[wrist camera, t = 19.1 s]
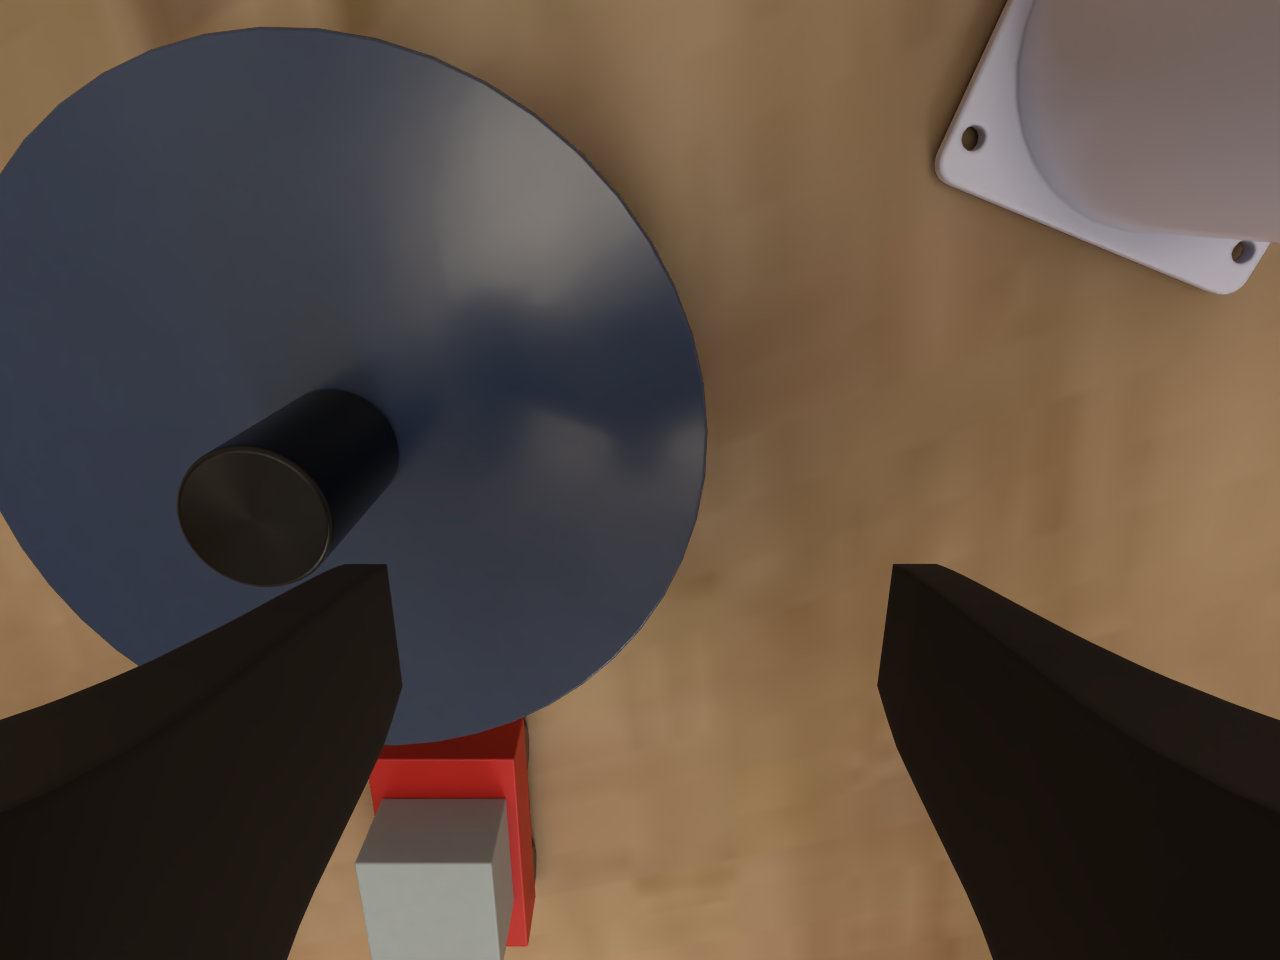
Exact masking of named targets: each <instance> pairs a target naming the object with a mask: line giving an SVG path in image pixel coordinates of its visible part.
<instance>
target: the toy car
mask: <svg viewBox="0 0 1280 960" xmlns="http://www.w3.org/2000/svg"><path fill="white" fill-rule="evenodd" d="M528 757H529V736H528V730H527V727H526V726H524V718H523V717H522V718H520V719H518V720H516V721H514V722H511V723H508V724H505V725H501V726H498V727H495V728H492V729H489V730H486V731H483V732H480V733H477V734H472V735H468V736H463V737H458V738H453V739H448V740H443V741H438V742H428V743H417V744H406V745H384V747H383V749H382V751H381V753H380V756H379V758H378V760H377V762H376V764H375V766H374V768H373V771H372V773H371V775H370V777H369V782H370V788H371V794H372V801H373V807H374V813H375V817H374V820H373V822H372V825H371V827H370V829H369V832H368V834H367V836H366V839H365V841H364V843H363V846H362V848H361V850H360V853H359V855H358V858H357V860H356V862H355V867H356V873H357V879H358V884H359V890H360V896H361V902H362V907H363V913H364V919H365V925H366V930H367V936H368V942H369V947H370V953H371V959H372V960H503V959H504V954H505V948H506V946H528V942H529V935H530V929H531V922H532V915H533V909H534V902H535V878H536V850H535V846H534V845H532V836H531V821H530V806H529V791H528V775H527V768H528Z"/></svg>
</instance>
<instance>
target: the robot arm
mask: <svg viewBox="0 0 1280 960" xmlns="http://www.w3.org/2000/svg"><path fill="white" fill-rule="evenodd" d="M968 127H973V128H974V129H975V130H977V133H978V142H977V144H976V146H975V147H974V148H973V149H972V150H970V151H968V150H966V149H965V148H964V147H963V145H962V141H961V139H962V135H963V132H964V131H965V130H966V129H967V128H968ZM934 165H935V173H936V174H937V176H938V178H939V180H941V181H942V182H944V183H945V184H947V185H949V186H952V187H954V188H956V189H959V190H961V191H964V192H966V193H969V194H971V195H973V196H976V197H978V198H981V199H983V200H986V201H988V202H990V203H993V204H995V205H998V206H1000V207H1003V208H1005V209H1007V210H1010V211H1012V212H1015V213H1017V214H1020V215H1022V216H1024V217H1027V218H1029V219H1032V220H1034V221H1037V222H1039V223H1041V224H1044V225H1046V226H1049V227H1051V228H1054V229H1056V230H1058V231H1061V232H1063V233H1066V234H1068V235H1071V236H1073V237H1075V238H1078V239H1080V240H1083V241H1085V242H1088V243H1090V244H1092V245H1095V246H1097V247H1100V248H1102V249H1105V250H1107V251H1109V252H1112V253H1114V254H1117V255H1119V256H1122V257H1124V258H1126V259H1129V260H1131V261H1134V262H1136V263H1139V264H1141V265H1143V266H1146V267H1148V268H1151V269H1153V270H1156V271H1158V272H1160V273H1163V274H1165V275H1168V276H1170V277H1173V278H1175V279H1177V280H1180V281H1182V282H1185V283H1187V284H1190V285H1192V286H1194V287H1197V288H1199V289H1202V290H1204V291H1207V292H1211V293H1217V294H1223V295H1225V294H1229V293H1233V292H1235V291H1236V290H1238V289H1239V288H1241V287H1242V286H1243V284H1244V283H1245V282H1246V281H1247V280H1248V278H1249V276H1250V275H1251V273H1252V272H1253V270H1254V268H1255V267H1256V265H1257V264H1258V262H1259V260H1260V259H1261V257H1262V256H1263V254H1264V253H1265V251H1266V249H1267V248H1268V246H1269V245H1270V243H1280V0H1007V2H1006V5H1005V7H1004V9H1003V11H1002V13H1001V15H1000V18H999V20H998V22H997V24H996V26H995V28H994V31H993V33H992V35H991V37H990V39H989V41H988V44H987V46H986V48H985V50H984V52H983V54H982V57H981V59H980V61H979V63H978V65H977V67H976V70H975V72H974V74H973V76H972V78H971V80H970V83H969V85H968V87H967V89H966V91H965V93H964V96H963V98H962V100H961V102H960V104H959V107H958V109H957V111H956V113H955V115H954V117H953V120H952V122H951V124H950V126H949V128H948V130H947V133H946V135H945V137H944V139H943V141H942V143H941V146H940V148H939V150H938V152H937V155H936V158H935V162H934ZM1238 242H1241V243H1242V247H1243V249H1242V252H1241V255H1240V256H1239V257H1238V258H1237V259H1236V260H1234V261H1233V260H1232V251H1233V248H1234V247H1235V246H1236V245H1237V244H1238ZM402 686H403V684H402V677H401V669H400V661H399V654H398V646H397V638H396V631H395V623H394V615H393V608H392V600H391V592H390V585H389V577H388V569H387V564H343V565H340V566H337V567H335V568H332V569H330V570H328V571H325V572H323V573H321V574H319V575H317V576H315V577H313V578H311V579H309V580H307V581H305V582H303V583H302V584H300V585H298V586H296V587H294V588H292V589H290V590H288V591H286V592H285V593H283V594H281V595H279V596H277V597H275V598H273V599H272V600H270V601H268V602H266V603H264V604H262V605H260V606H259V607H257V608H255V609H253V610H251V611H249V612H247V613H245V614H244V615H242V616H240V617H238V618H236V619H234V620H232V621H231V622H229V623H227V624H225V625H223V626H221V627H219V628H217V629H215V630H213V631H211V632H209V633H207V634H205V635H203V636H200V637H198V638H196V639H194V640H192V641H190V642H188V643H186V644H184V645H182V646H180V647H178V648H176V649H174V650H172V651H170V652H168V653H166V654H164V655H162V656H160V657H158V658H156V659H154V660H152V661H149V662H147V663H145V664H143V665H141V666H138V667H136V668H134V669H132V670H129V671H127V672H125V673H122V674H120V675H118V676H116V677H113V678H111V679H109V680H106V681H104V682H101V683H99V684H96V685H94V686H91V687H89V688H86V689H84V690H81V691H79V692H76V693H74V694H71V695H69V696H66V697H64V698H61V699H59V700H56V701H53V702H51V703H48V704H45V705H43V706H40V707H37V708H34V709H31V710H28V711H25V712H22V713H19V714H16V715H13V716H10V717H7V718H5V719H2V720H0V960H287V958H288V955H289V953H290V950H291V947H292V944H293V942H294V939H295V936H296V933H297V931H298V928H299V925H300V923H301V921H302V919H303V916H304V914H305V912H306V909H307V907H308V905H309V902H310V900H311V898H312V895H313V893H314V891H315V889H316V887H317V885H318V883H319V881H320V879H321V876H322V874H323V872H324V870H325V868H326V866H327V864H328V862H329V860H330V858H331V856H332V854H333V852H334V850H335V848H336V845H337V843H338V841H339V839H340V837H341V835H342V833H343V831H344V829H345V827H346V825H347V823H348V821H349V819H350V817H351V815H352V812H353V810H354V808H355V806H356V804H357V802H358V800H359V798H360V796H361V794H362V792H363V790H364V787H365V785H366V783H367V781H368V779H369V777H370V775H371V773H372V771H373V768H374V766H375V764H376V762H377V760H378V758H379V756H380V753H381V751H382V749H383V747H384V744H385V741H386V738H387V735H388V732H389V729H390V726H391V723H392V720H393V716H394V713H395V710H396V706H397V703H398V700H399V696H400V693H401V690H402ZM877 686H878V690H879V693H880V696H881V700H882V703H883V706H884V710H885V713H886V716H887V720H888V723H889V726H890V729H891V732H892V735H893V738H894V741H895V744H896V747H897V749H898V751H899V753H900V756H901V758H902V760H903V762H904V764H905V766H906V768H907V771H908V773H909V775H910V777H911V779H912V781H913V783H914V785H915V787H916V790H917V792H918V794H919V796H920V798H921V800H922V802H923V804H924V806H925V808H926V810H927V812H928V814H929V817H930V819H931V821H932V823H933V825H934V827H935V829H936V831H937V833H938V835H939V837H940V839H941V841H942V843H943V845H944V848H945V850H946V852H947V854H948V856H949V858H950V860H951V862H952V864H953V866H954V868H955V870H956V872H957V874H958V876H959V879H960V881H961V883H962V885H963V887H964V889H965V891H966V893H967V895H968V898H969V900H970V902H971V905H972V907H973V909H974V912H975V914H976V916H977V919H978V921H979V923H980V925H981V928H982V931H983V933H984V936H985V939H986V942H987V944H988V947H989V950H990V953H991V955H992V958H993V960H1280V720H1278V719H1275V718H1272V717H1269V716H1266V715H1263V714H1260V713H1258V712H1255V711H1252V710H1249V709H1246V708H1244V707H1241V706H1238V705H1235V704H1233V703H1230V702H1227V701H1225V700H1222V699H1220V698H1217V697H1215V696H1212V695H1210V694H1207V693H1205V692H1202V691H1200V690H1197V689H1195V688H1192V687H1190V686H1187V685H1185V684H1182V683H1180V682H1177V681H1175V680H1172V679H1170V678H1167V677H1165V676H1163V675H1161V674H1158V673H1156V672H1154V671H1151V670H1149V669H1147V668H1144V667H1142V666H1140V665H1138V664H1136V663H1133V662H1131V661H1129V660H1127V659H1125V658H1123V657H1121V656H1119V655H1117V654H1114V653H1112V652H1110V651H1108V650H1106V649H1104V648H1102V647H1100V646H1098V645H1095V644H1093V643H1091V642H1089V641H1087V640H1085V639H1083V638H1081V637H1079V636H1077V635H1075V634H1073V633H1071V632H1069V631H1067V630H1065V629H1064V628H1062V627H1060V626H1058V625H1056V624H1054V623H1052V622H1050V621H1048V620H1046V619H1044V618H1043V617H1041V616H1039V615H1037V614H1035V613H1033V612H1031V611H1029V610H1027V609H1026V608H1024V607H1022V606H1020V605H1018V604H1016V603H1014V602H1013V601H1011V600H1009V599H1007V598H1005V597H1003V596H1001V595H1000V594H998V593H996V592H994V591H992V590H990V589H988V588H987V587H985V586H983V585H981V584H979V583H977V582H975V581H973V580H971V579H969V578H967V577H965V576H963V575H961V574H959V573H957V572H955V571H953V570H950V569H948V568H946V567H943V566H940V565H938V564H893V569H892V577H891V585H890V592H889V600H888V608H887V615H886V623H885V631H884V638H883V646H882V654H881V661H880V669H879V677H878V684H877Z"/></svg>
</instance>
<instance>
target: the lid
mask: <svg viewBox="0 0 1280 960" xmlns="http://www.w3.org/2000/svg"><path fill="white" fill-rule="evenodd" d="M706 449H707V419H706V407H705V395H704V383H703V379H702V374H701V370H700V365H699V361H698V356H697V352H696V347H695V343H694V338H693V334H692V332H691V329H690V326H689V323H688V321H687V318H686V315H685V312H684V310H683V307H682V304H681V301H680V299H679V296H678V293H677V290H676V288H675V285H674V283H673V281H672V279H671V277H670V276H669V274H668V272H667V270H666V268H665V266H664V264H663V262H662V260H661V258H660V256H659V254H658V252H657V250H656V249H655V247H654V245H653V243H652V241H651V239H650V238H649V236H648V235H647V233H646V232H645V230H644V229H643V227H642V226H641V225H640V223H639V222H638V220H637V219H636V217H635V216H634V215H633V213H632V212H631V210H630V209H629V207H628V206H627V204H626V203H625V202H624V200H623V199H622V197H621V196H620V194H619V193H618V192H617V191H616V190H615V189H614V188H613V187H612V186H611V185H610V183H609V182H608V181H607V180H606V179H605V178H604V177H603V176H602V175H601V174H600V172H599V171H598V170H597V169H596V168H595V167H594V166H593V165H592V164H591V162H590V161H589V160H588V159H587V158H586V157H585V156H584V155H583V154H582V153H581V152H580V151H579V150H578V149H576V148H575V147H574V146H573V145H572V144H571V143H569V142H568V141H567V140H566V139H565V138H564V137H562V136H561V135H560V134H559V133H558V132H557V131H555V130H554V129H553V128H552V127H551V126H550V125H548V124H547V123H546V122H545V121H544V120H543V119H541V118H540V117H539V116H538V115H536V114H535V113H533V112H532V111H530V110H529V109H527V108H526V107H524V106H522V105H521V104H519V103H518V102H516V101H515V100H513V99H512V98H510V97H509V96H507V95H506V94H504V93H503V92H501V91H499V90H498V89H496V88H495V87H493V86H492V85H490V84H489V83H487V82H485V81H483V80H481V79H479V78H477V77H475V76H473V75H471V74H468V73H466V72H464V71H462V70H460V69H458V68H456V67H454V66H452V65H450V64H448V63H445V62H443V61H441V60H439V59H437V58H435V57H433V56H430V55H427V54H423V53H420V52H417V51H414V50H411V49H408V48H405V47H402V46H399V45H395V44H392V43H389V42H386V41H383V40H380V39H377V38H371V37H366V36H360V35H354V34H348V33H342V32H337V31H331V30H325V29H319V28H286V27H255V28H247V29H239V30H232V31H224V32H216V33H208V34H202V35H199V36H196V37H192V38H189V39H185V40H182V41H179V42H175V43H172V44H168V45H165V46H161V47H158V48H155V49H151V50H149V51H147V52H145V53H143V54H141V55H139V56H137V57H135V58H133V59H130V60H128V61H126V62H124V63H122V64H120V65H118V66H116V67H114V68H112V69H110V70H108V71H106V72H104V73H102V74H101V75H99V76H98V77H96V78H95V79H94V80H92V81H91V82H89V83H88V84H87V85H85V86H84V87H82V88H81V89H80V90H78V91H77V92H75V93H74V94H73V95H71V96H70V97H68V98H67V99H66V100H64V101H63V102H61V103H60V104H59V105H58V106H57V107H56V108H55V109H54V110H53V111H52V112H51V113H50V114H49V115H48V116H47V117H46V118H45V119H44V120H43V121H42V122H41V123H40V124H39V125H38V126H37V127H36V128H35V129H34V130H33V131H32V132H31V133H30V134H29V135H28V136H27V137H26V138H25V139H24V140H23V142H22V143H21V145H20V146H19V147H18V149H17V150H16V152H15V153H14V155H13V156H12V158H11V159H10V160H9V162H8V163H7V165H6V166H5V168H4V169H3V171H2V172H1V173H0V512H1V513H2V515H3V517H4V519H5V520H6V522H7V524H8V525H9V527H10V529H11V530H12V532H13V534H14V536H15V537H16V539H17V541H18V542H19V544H20V546H21V547H22V549H23V550H24V551H25V553H26V554H27V555H28V557H29V558H30V560H31V561H32V562H33V564H34V565H35V566H36V568H37V569H38V570H39V572H40V573H41V574H42V576H43V577H44V578H45V580H46V581H47V582H48V584H49V585H50V586H51V587H52V588H53V589H54V590H55V591H56V593H57V594H58V595H59V596H60V597H61V598H62V599H63V600H64V601H65V602H66V603H67V604H68V605H69V607H70V608H71V609H72V610H73V611H74V612H75V613H76V614H77V615H78V616H79V617H80V618H81V619H82V620H83V621H84V622H85V623H86V624H87V625H88V626H90V627H91V628H92V629H93V630H94V631H95V632H96V633H98V634H99V635H100V636H101V637H102V638H103V639H104V640H105V641H107V642H108V643H109V644H110V645H111V646H112V647H113V648H115V649H116V650H117V651H119V652H120V653H121V654H123V655H124V656H126V657H127V658H128V659H130V660H131V661H133V662H134V663H135V664H137V665H138V666H141V665H143V664H145V663H147V662H149V661H152V660H154V659H156V658H158V657H160V656H162V655H164V654H166V653H168V652H170V651H172V650H174V649H176V648H178V647H180V646H182V645H184V644H186V643H188V642H190V641H192V640H194V639H196V638H198V637H200V636H203V635H205V634H207V633H209V632H211V631H213V630H215V629H217V628H219V627H221V626H223V625H225V624H227V623H229V622H231V621H232V620H234V619H236V618H238V617H240V616H242V615H244V614H245V613H247V612H249V611H251V610H253V609H255V608H257V607H259V606H260V605H262V604H264V603H266V602H268V601H270V600H272V599H273V598H275V597H277V596H279V595H281V594H283V593H285V592H286V591H288V590H290V589H292V588H294V587H296V586H298V585H300V584H302V583H303V582H305V581H307V580H309V579H311V578H313V577H315V576H317V575H319V574H321V573H323V572H325V571H328V570H330V569H332V568H335V567H337V566H340V565H343V564H387V569H388V577H389V585H390V592H391V600H392V608H393V615H394V623H395V631H396V638H397V646H398V654H399V661H400V669H401V677H402V684H403V686H402V690H401V693H400V696H399V700H398V703H397V706H396V710H395V713H394V716H393V720H392V723H391V726H390V729H389V732H388V735H387V738H386V741H385V744H384V745H406V744H417V743H428V742H438V741H443V740H448V739H453V738H458V737H463V736H468V735H472V734H477V733H480V732H483V731H486V730H489V729H492V728H495V727H498V726H501V725H505V724H508V723H511V722H514V721H516V720H518V719H520V718H522V717H525V716H527V715H529V714H531V713H533V712H535V711H537V710H539V709H542V708H544V707H546V706H548V705H550V704H552V703H553V702H555V701H556V700H558V699H560V698H561V697H563V696H564V695H566V694H568V693H569V692H571V691H572V690H574V689H576V688H577V687H579V686H580V685H582V684H583V683H585V682H586V681H587V680H588V679H589V678H591V677H592V676H593V675H594V674H595V673H597V672H598V671H599V670H600V669H601V668H603V667H604V666H605V665H606V664H608V663H609V662H610V661H611V660H612V659H614V658H615V656H616V655H617V654H618V653H619V652H620V651H621V650H622V649H623V648H624V647H625V646H626V645H627V643H628V642H629V641H630V640H631V639H632V638H633V637H634V636H635V635H636V634H637V633H638V632H639V631H640V629H641V628H642V627H643V625H644V624H645V622H646V621H647V620H648V618H649V617H650V615H651V614H652V612H653V611H654V610H655V608H656V607H657V605H658V604H659V602H660V601H661V600H662V598H663V597H664V595H665V593H666V591H667V589H668V587H669V585H670V583H671V581H672V579H673V577H674V576H675V574H676V572H677V570H678V568H679V566H680V564H681V562H682V560H683V557H684V554H685V551H686V549H687V546H688V543H689V540H690V537H691V534H692V531H693V528H694V525H695V523H696V520H697V515H698V510H699V505H700V499H701V494H702V489H703V484H704V479H705V467H706Z"/></svg>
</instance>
